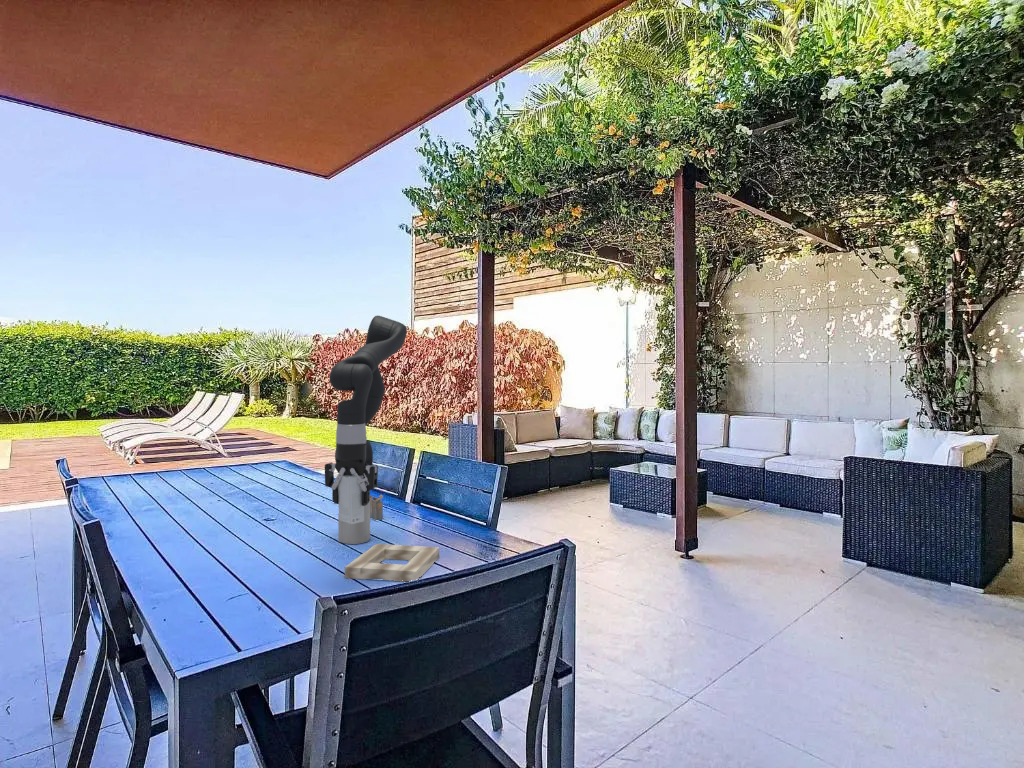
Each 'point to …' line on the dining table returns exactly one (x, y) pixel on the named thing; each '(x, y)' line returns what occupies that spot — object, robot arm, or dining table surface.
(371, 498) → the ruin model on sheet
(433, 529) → the dining table surface
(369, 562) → the socket block
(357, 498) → the skincare box
